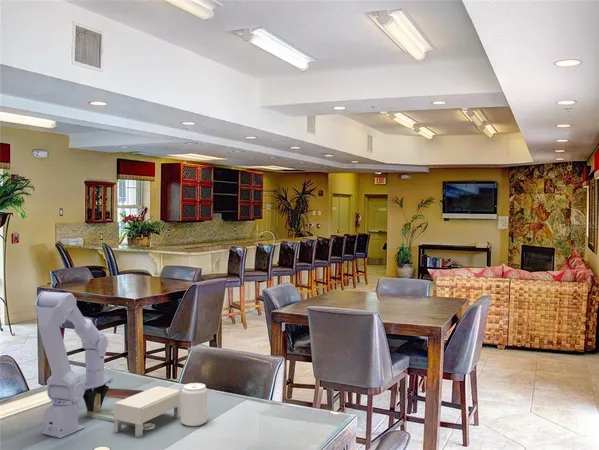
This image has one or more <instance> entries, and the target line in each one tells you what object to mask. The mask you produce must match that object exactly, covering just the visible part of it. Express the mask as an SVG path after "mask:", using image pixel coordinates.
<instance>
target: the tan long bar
mask: <svg viewBox="0 0 599 450" xmlns="http://www.w3.org/2000/svg"><path fill="white" fill-rule="evenodd" d="M101 409H102V407H101V394H100V393H96V396H95V401H94V410H93V412H89V411H87V410H86V416H87V417H90V418H91V417H92V419H97V420H101V421H106V422H111V423H114V412H109V411H105V410H101ZM121 425H123V426H128V427H131V428H135V424H134V423H130V422H125V421H121Z"/></svg>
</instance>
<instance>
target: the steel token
mask: <svg viewBox="0 0 599 450" xmlns="http://www.w3.org/2000/svg"><path fill="white" fill-rule="evenodd" d="M154 428H156V424H155V423H152V422H149V423H143V431H150V430H153V429H154Z"/></svg>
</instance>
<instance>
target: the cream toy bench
mask: <svg viewBox="0 0 599 450" xmlns="http://www.w3.org/2000/svg"><path fill="white" fill-rule="evenodd" d="M113 405H114V406H113V413H114V422H113V432H114V433H117V434H118V433H120V432H121V431H122V424H121V421H125V422H130V423H134V424H135V427H134V428H135V429H134V430H135V435H134V436H135V438H138V439H139V438H142V437H143V435H144V434H143V431H144V430H143V424H145V423H146V422H148V421H150V420H153V419H154V418H156V417H158V416H161V415H163V414H165V413H167V412H169V411H171V410H173V419H181V406H182V389H174V388H171V387H170V388H169V387H165V386H158V385H157V386H154V387H151V388H149V389H146V390H143V392H141V393H138V394H136V395H133V396H131V397H128V398H126V399H121V400H118V401H116V402H114V403H113Z"/></svg>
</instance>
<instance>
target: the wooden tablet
mask: <svg viewBox="0 0 599 450" xmlns="http://www.w3.org/2000/svg"><path fill="white" fill-rule="evenodd" d="M143 391H144V389H143V390H139V389H128V388H126V389H125V388H112V387H111V388H110V387H109V389H108V391H107V393H106V395H105V397H104V398H111V399H112V398H114V399H121V400H123V399H126V398H128V397H131V396H133V395H136V394H138V393H141V392H143Z"/></svg>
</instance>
